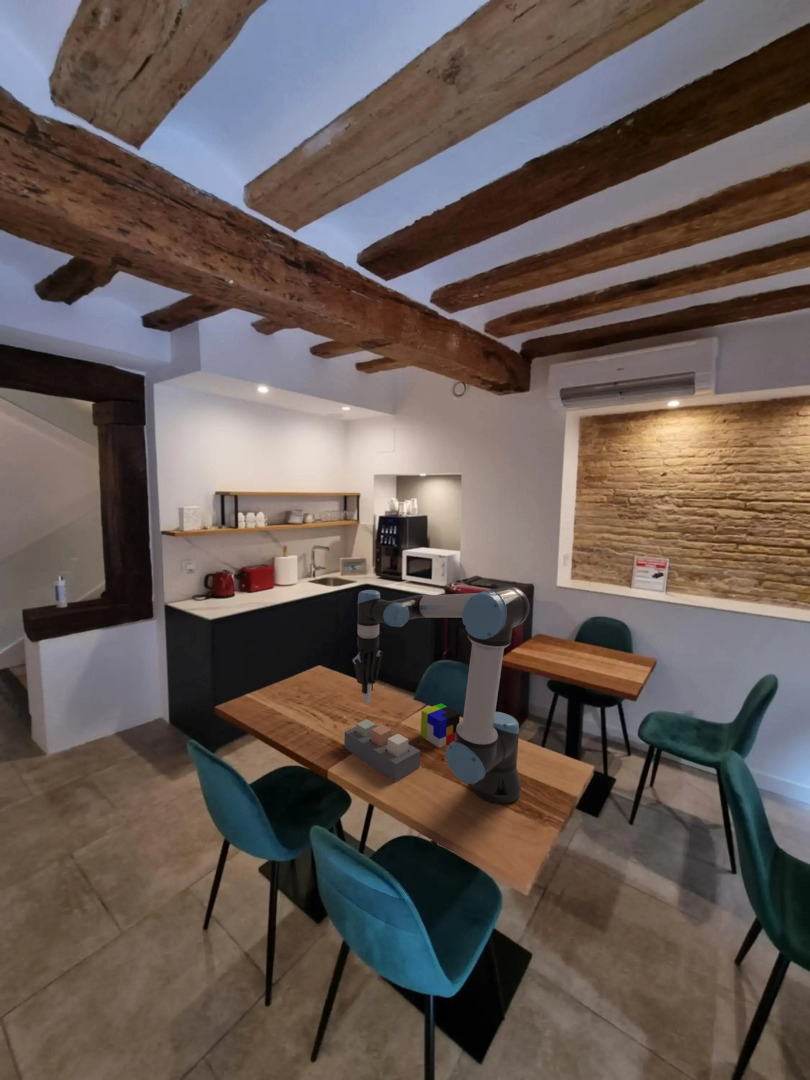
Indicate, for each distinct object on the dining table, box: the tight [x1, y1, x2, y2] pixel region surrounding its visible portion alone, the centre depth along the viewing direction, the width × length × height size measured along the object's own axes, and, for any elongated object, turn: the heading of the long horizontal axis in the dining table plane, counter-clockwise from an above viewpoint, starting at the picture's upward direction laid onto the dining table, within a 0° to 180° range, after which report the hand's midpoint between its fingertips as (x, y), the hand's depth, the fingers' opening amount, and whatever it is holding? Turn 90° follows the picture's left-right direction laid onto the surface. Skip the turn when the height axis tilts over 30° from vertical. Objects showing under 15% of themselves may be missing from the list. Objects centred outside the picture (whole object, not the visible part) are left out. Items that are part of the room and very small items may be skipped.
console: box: [343, 725, 421, 783], centre depth 154 cm, size 26×11×6 cm, turn 45°
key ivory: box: [387, 733, 409, 758], centre depth 148 cm, size 5×5×8 cm
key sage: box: [355, 718, 377, 738], centre depth 160 cm, size 5×5×8 cm
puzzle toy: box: [420, 703, 461, 748], centre depth 168 cm, size 10×10×10 cm
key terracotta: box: [371, 724, 393, 748], centre depth 154 cm, size 5×5×8 cm
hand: (367, 701), depth 158 cm, fingers closed
